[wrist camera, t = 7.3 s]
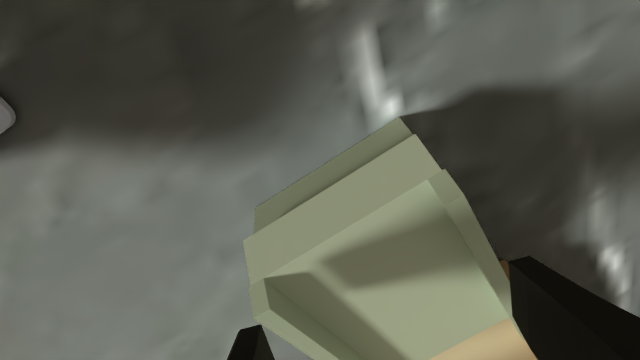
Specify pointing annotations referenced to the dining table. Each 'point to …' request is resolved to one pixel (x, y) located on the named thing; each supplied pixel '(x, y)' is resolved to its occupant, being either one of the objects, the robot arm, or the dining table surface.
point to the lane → (492, 342)
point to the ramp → (375, 257)
